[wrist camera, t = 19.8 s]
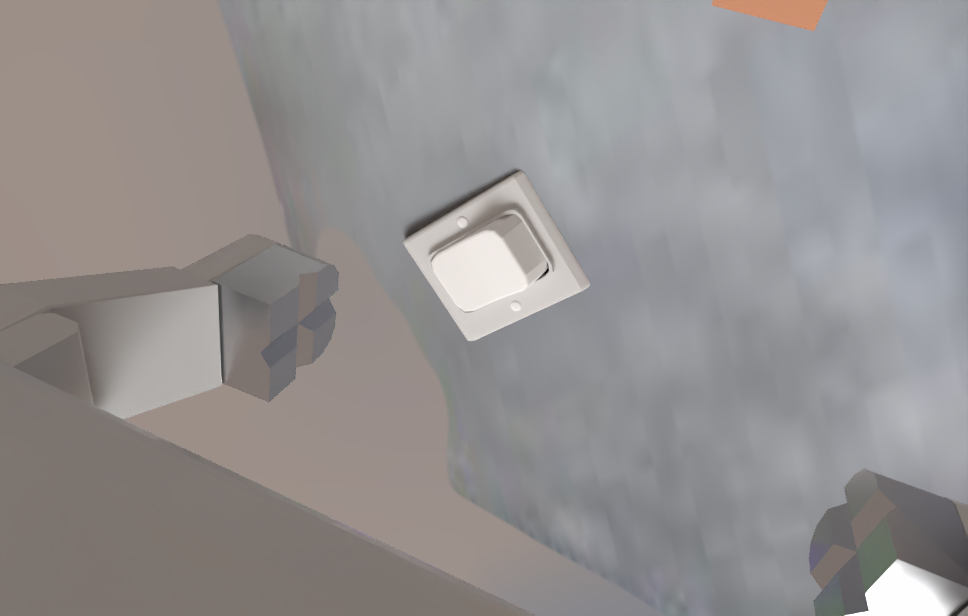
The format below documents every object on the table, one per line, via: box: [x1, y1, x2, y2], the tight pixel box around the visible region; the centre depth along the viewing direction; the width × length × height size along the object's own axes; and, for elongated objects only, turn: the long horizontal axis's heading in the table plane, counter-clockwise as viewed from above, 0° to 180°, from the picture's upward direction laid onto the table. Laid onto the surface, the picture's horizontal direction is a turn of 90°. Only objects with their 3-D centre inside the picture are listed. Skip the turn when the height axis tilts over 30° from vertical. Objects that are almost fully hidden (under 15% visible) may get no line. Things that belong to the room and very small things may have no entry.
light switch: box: [403, 171, 590, 341], centre depth 51 cm, size 11×4×13 cm
